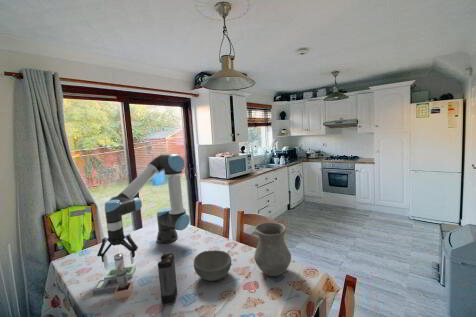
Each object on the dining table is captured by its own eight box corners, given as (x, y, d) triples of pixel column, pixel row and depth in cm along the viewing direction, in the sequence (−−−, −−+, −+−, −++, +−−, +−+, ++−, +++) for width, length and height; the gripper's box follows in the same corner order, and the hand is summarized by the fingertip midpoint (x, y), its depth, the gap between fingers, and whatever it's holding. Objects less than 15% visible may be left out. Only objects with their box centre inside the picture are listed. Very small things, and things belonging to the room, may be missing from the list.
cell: (126, 272, 128) (123, 251, 127) (123, 277, 124) (121, 255, 122) (117, 273, 127) (115, 252, 126) (115, 278, 123) (112, 256, 122)
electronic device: (165, 291, 111) (162, 253, 109) (177, 290, 111) (174, 252, 109) (160, 306, 101) (156, 264, 99) (174, 304, 102) (170, 263, 100)
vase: (260, 286, 111) (257, 238, 108) (251, 264, 129) (249, 223, 127) (297, 280, 114) (296, 233, 111) (284, 260, 132) (282, 219, 130)
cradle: (124, 280, 122) (124, 276, 121) (119, 291, 113) (119, 286, 113) (100, 284, 119) (99, 280, 119) (93, 295, 111) (92, 290, 111)
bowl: (202, 294, 108) (200, 274, 107) (190, 272, 126) (189, 255, 125) (238, 279, 117) (237, 261, 116) (223, 261, 135) (222, 245, 134)
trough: (135, 270, 131) (135, 265, 131) (132, 278, 123) (131, 273, 123) (110, 274, 128) (109, 269, 128) (104, 283, 120) (104, 277, 120)
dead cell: (131, 289, 113) (127, 265, 112) (126, 296, 108) (122, 270, 107) (122, 290, 113) (119, 266, 112) (117, 296, 108) (113, 271, 108)
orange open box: (133, 288, 114) (132, 281, 114) (129, 297, 108) (128, 290, 108) (119, 291, 113) (118, 283, 113) (115, 300, 107) (114, 292, 106)
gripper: (140, 222, 129) (144, 257, 131) (93, 228, 124) (97, 264, 126) (137, 227, 121) (141, 264, 124) (87, 234, 117) (92, 272, 119)
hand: (119, 264), depth 125 cm, fingers open, 13 cm apart
